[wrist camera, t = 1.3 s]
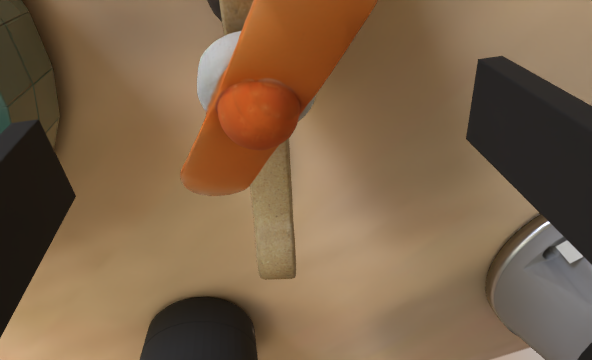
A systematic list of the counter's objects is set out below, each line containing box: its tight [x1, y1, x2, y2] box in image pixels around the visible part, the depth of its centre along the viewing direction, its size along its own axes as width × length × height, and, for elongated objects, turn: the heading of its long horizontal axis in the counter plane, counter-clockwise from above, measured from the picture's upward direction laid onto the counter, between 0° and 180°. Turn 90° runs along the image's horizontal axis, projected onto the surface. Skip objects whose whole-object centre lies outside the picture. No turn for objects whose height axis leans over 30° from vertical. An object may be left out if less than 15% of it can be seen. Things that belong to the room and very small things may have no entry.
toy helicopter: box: [181, 0, 377, 280], centre depth 18 cm, size 8×21×14 cm, turn 3°
